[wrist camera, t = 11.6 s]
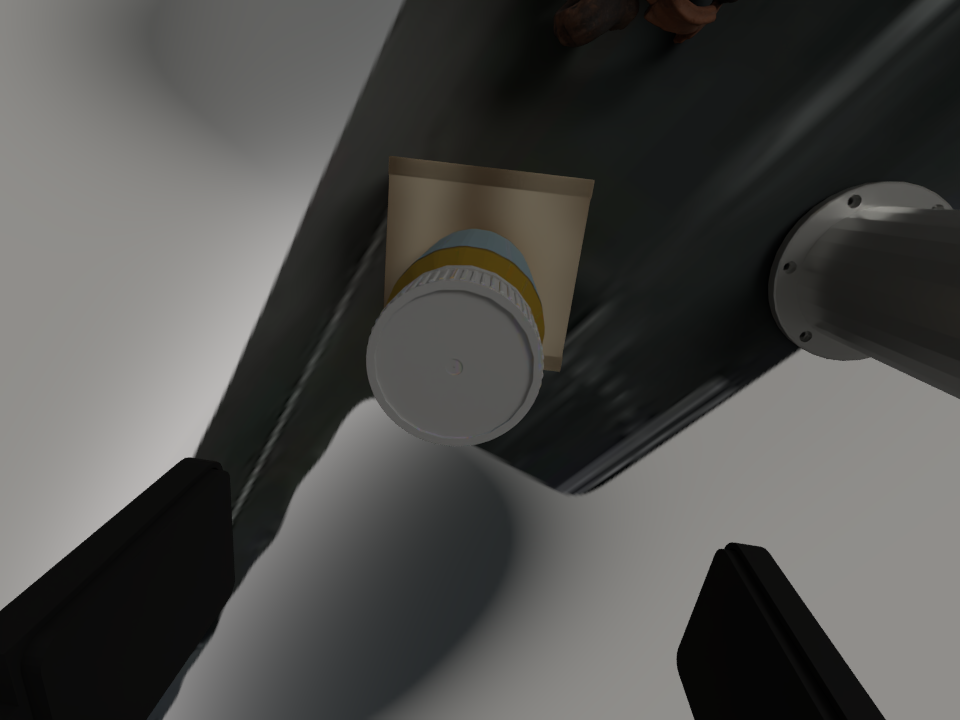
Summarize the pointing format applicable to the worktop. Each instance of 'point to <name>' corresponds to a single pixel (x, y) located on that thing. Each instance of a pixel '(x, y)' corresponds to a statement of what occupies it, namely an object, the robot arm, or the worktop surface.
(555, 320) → the chopping block
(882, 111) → the worktop surface
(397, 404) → the bottle
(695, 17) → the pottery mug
